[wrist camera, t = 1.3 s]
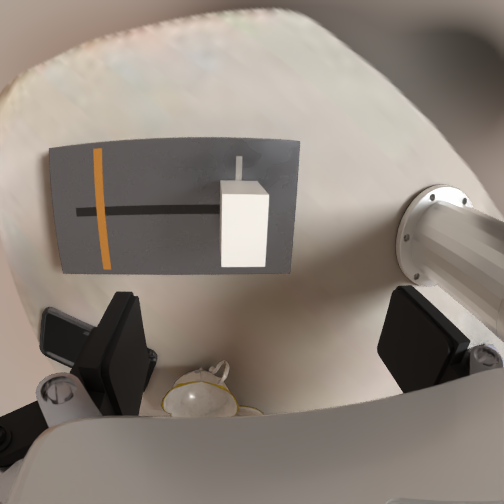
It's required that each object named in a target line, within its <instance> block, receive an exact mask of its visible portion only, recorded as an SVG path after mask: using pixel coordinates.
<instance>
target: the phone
mask: <svg viewBox="0 0 504 504" xmlns="http://www.w3.org/2000/svg"><path fill="white" fill-rule="evenodd" d="M93 328H94V326H92V325H89V324H87V323H85V322H83V321H80V320H78V319H76V318H74V317H72V316H69V315H67V314H65V313H63V312H61V311H59V310H57V309H55V308H52V307H48V308H46V309H45V311H44V312H43V314H42V322H41V333H40V350H41V352H42V353H43V354H44V355H45V356H47V357H49V358H51V359H53V360H55V361H57V362H59V363H61V364H64V365H66V366H68V367H70V368H72V367H73V365H74V363H75V361H76V359H77V357H78V355H79V353H80V351H81V349H82V347H83V345H84V343H85V341H86V339H87V337H88V335H89V333H90V332H91V330H92V329H93ZM147 351H148V357H149V367H148V371H147V376H146V380H145V385H144V390H143V392H144V391H145V389H146V387H147V384H148V382H149V379H150V377H151V374H152V372H153V370H154V367H155V365H156V361H157V354H156V353H155V352H154V351H153V350H151V349H149V348H147Z"/></svg>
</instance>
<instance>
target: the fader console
mask: <svg viewBox="0 0 504 504" xmlns="http://www.w3.org/2000/svg"><path fill="white" fill-rule="evenodd" d="M299 151H300V141H294V140H281V139H262V138H232V137H182V138H152V139H134V140H119V141H107V142H96V143H86V144H77V145H69V146H61V147H55V148H49V162H50V179H51V192H52V202H53V212H54V220H55V228H56V235H57V241H58V248H59V254H60V259H61V265H62V270H63V273H64V274H153V275H191V274H284V273H290V268H291V257H292V246H293V234H294V222H295V210H296V196H297V182H298V167H299ZM220 180H236V181H258V183H259V184H260V185H261V186H262V187H263V188H264V189H265V191H266V192H267V193H268V194H269V209H268V227H267V244H266V261H265V267H221V253H220Z"/></svg>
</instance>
